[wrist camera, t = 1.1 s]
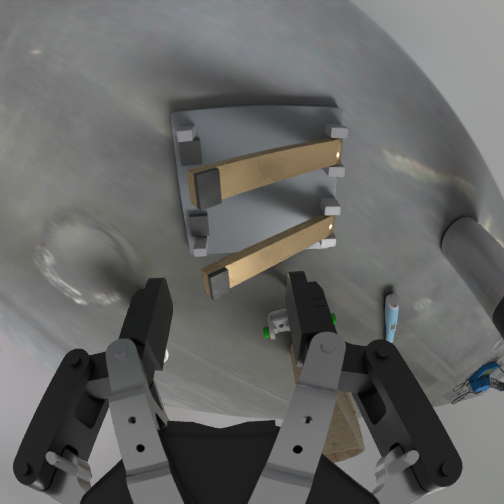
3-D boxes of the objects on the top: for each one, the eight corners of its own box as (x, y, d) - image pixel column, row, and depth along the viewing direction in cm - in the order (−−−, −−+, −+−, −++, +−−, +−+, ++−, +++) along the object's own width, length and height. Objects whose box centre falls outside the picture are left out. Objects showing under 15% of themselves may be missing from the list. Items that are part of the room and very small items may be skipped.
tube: (306, 326, 54) (331, 449, 34) (345, 336, 57) (377, 445, 36) (281, 355, 59) (295, 466, 39) (319, 362, 62) (340, 463, 41)
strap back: (329, 210, 37) (340, 215, 36) (326, 229, 39) (337, 235, 38) (200, 268, 28) (210, 278, 27) (204, 290, 30) (214, 301, 29)
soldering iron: (464, 399, 104) (475, 426, 89) (426, 410, 100) (437, 442, 85) (507, 358, 85) (523, 387, 70) (475, 366, 80) (492, 402, 65)
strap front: (335, 136, 32) (348, 140, 30) (333, 159, 33) (346, 164, 32) (185, 170, 22) (196, 175, 21) (190, 203, 24) (201, 210, 23)
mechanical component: (258, 284, 47) (262, 332, 39) (320, 271, 46) (336, 317, 38) (262, 296, 49) (266, 344, 41) (321, 284, 48) (336, 330, 40)
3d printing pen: (392, 307, 47) (403, 299, 47) (382, 297, 50) (393, 289, 50) (388, 356, 58) (397, 350, 59) (380, 347, 61) (390, 341, 61)
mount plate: (337, 107, 31) (350, 112, 28) (326, 242, 43) (334, 260, 39) (172, 111, 31) (164, 117, 27) (191, 248, 42) (187, 267, 39)
